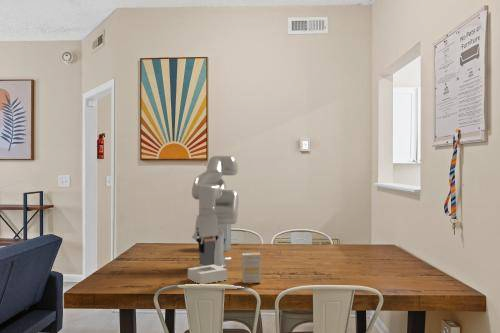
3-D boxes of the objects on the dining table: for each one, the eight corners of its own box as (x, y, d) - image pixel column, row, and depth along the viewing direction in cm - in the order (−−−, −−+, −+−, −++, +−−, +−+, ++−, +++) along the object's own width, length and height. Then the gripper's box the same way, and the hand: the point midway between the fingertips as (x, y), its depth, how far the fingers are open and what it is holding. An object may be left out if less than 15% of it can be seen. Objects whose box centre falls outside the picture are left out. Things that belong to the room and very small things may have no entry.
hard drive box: (204, 249, 255) (204, 218, 255) (208, 247, 262) (209, 216, 263) (227, 251, 251) (227, 219, 251) (231, 249, 258) (231, 217, 258)
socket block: (213, 274, 195) (213, 264, 195) (227, 280, 186) (227, 269, 186) (187, 279, 187) (187, 268, 187) (200, 285, 177) (200, 273, 177)
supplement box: (259, 280, 185) (260, 252, 185) (260, 283, 180) (260, 254, 180) (241, 281, 185) (242, 252, 185) (242, 284, 180) (242, 254, 180)
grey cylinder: (208, 262, 190) (208, 236, 190) (214, 264, 186) (214, 238, 186) (199, 263, 187) (199, 237, 187) (204, 265, 183) (205, 239, 183)
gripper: (218, 210, 194) (218, 247, 195) (186, 212, 184) (186, 252, 184) (227, 211, 188) (226, 250, 189) (194, 214, 178) (194, 255, 178)
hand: (206, 251), depth 187 cm, fingers closed on grey cylinder, 5 cm apart
